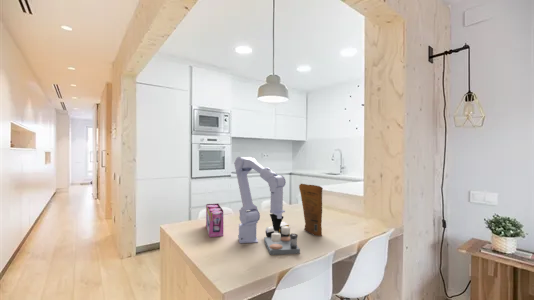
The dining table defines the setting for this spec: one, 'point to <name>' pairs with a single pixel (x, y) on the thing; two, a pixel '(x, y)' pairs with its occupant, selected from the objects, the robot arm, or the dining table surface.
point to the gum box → (214, 220)
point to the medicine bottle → (270, 230)
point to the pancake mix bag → (312, 208)
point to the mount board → (280, 246)
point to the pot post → (293, 241)
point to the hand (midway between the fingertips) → (276, 230)
